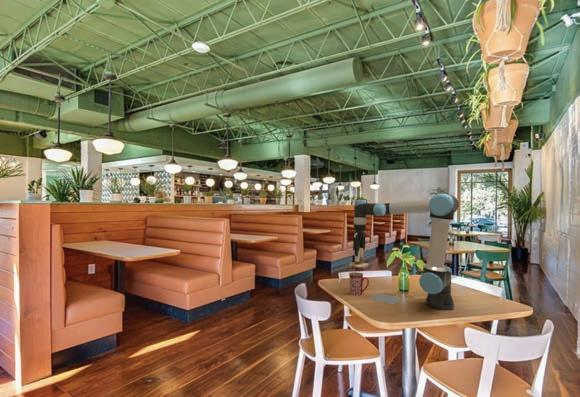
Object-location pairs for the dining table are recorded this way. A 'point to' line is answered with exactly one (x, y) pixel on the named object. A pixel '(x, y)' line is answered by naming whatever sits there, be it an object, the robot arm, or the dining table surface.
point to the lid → (360, 263)
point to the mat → (386, 298)
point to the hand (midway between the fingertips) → (359, 260)
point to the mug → (356, 283)
